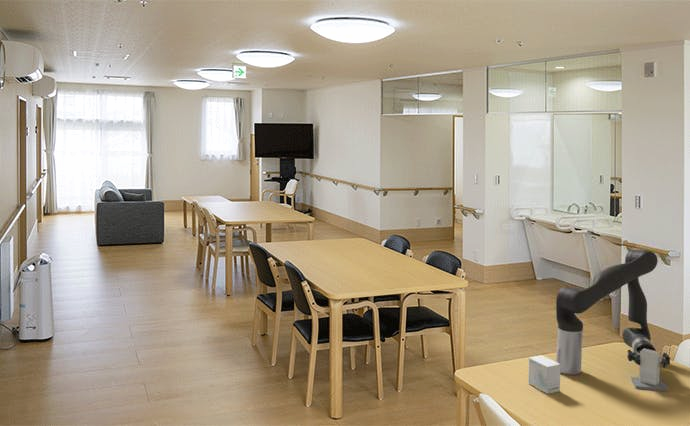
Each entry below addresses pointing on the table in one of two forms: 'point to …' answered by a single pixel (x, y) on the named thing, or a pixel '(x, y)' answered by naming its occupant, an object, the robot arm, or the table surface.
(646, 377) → the skincare box
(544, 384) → the skincare box
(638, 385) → the mat
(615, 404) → the table surface
